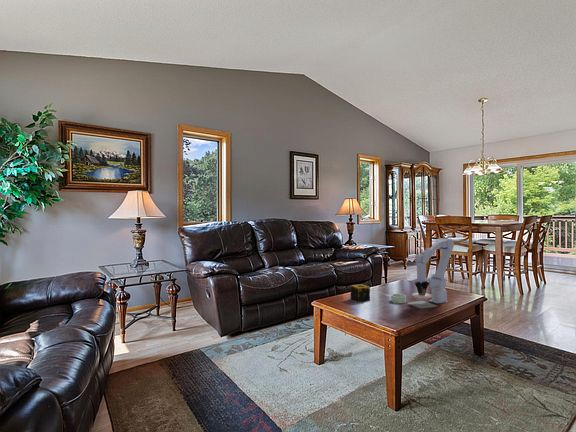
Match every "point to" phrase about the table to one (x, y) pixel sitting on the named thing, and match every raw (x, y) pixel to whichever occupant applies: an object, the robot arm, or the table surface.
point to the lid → (422, 294)
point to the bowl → (398, 298)
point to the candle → (360, 293)
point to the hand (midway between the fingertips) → (421, 293)
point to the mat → (422, 304)
